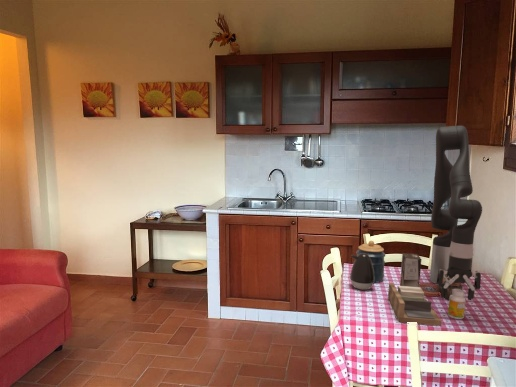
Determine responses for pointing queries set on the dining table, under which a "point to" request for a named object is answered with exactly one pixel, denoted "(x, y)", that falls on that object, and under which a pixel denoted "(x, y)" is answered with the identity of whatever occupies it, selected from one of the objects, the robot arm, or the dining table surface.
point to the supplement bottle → (457, 304)
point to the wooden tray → (412, 305)
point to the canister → (374, 258)
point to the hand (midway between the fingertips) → (456, 298)
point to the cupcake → (449, 287)
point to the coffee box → (410, 270)
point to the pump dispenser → (362, 272)
